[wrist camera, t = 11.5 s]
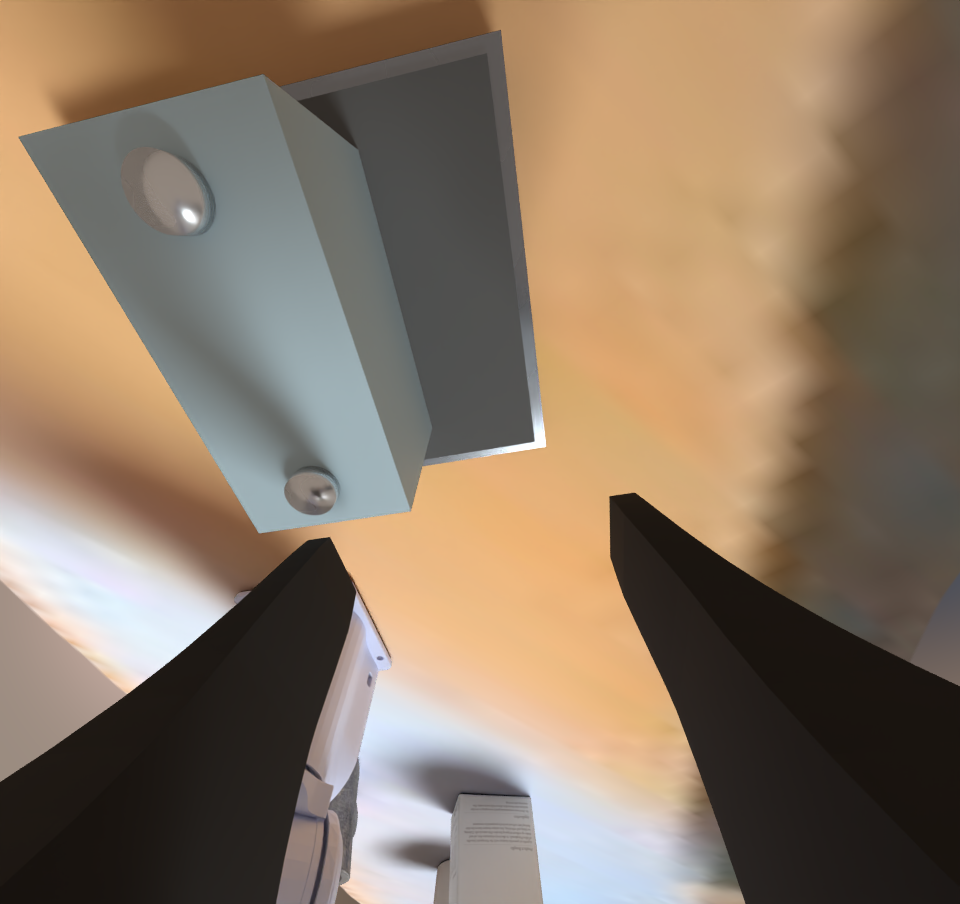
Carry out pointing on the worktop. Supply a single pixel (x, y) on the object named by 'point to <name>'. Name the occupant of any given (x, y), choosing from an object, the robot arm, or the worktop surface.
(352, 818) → the pipe
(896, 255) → the worktop surface
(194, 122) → the block
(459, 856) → the skincare box
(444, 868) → the coffee cup
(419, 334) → the shallow gray tray
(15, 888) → the robot arm
